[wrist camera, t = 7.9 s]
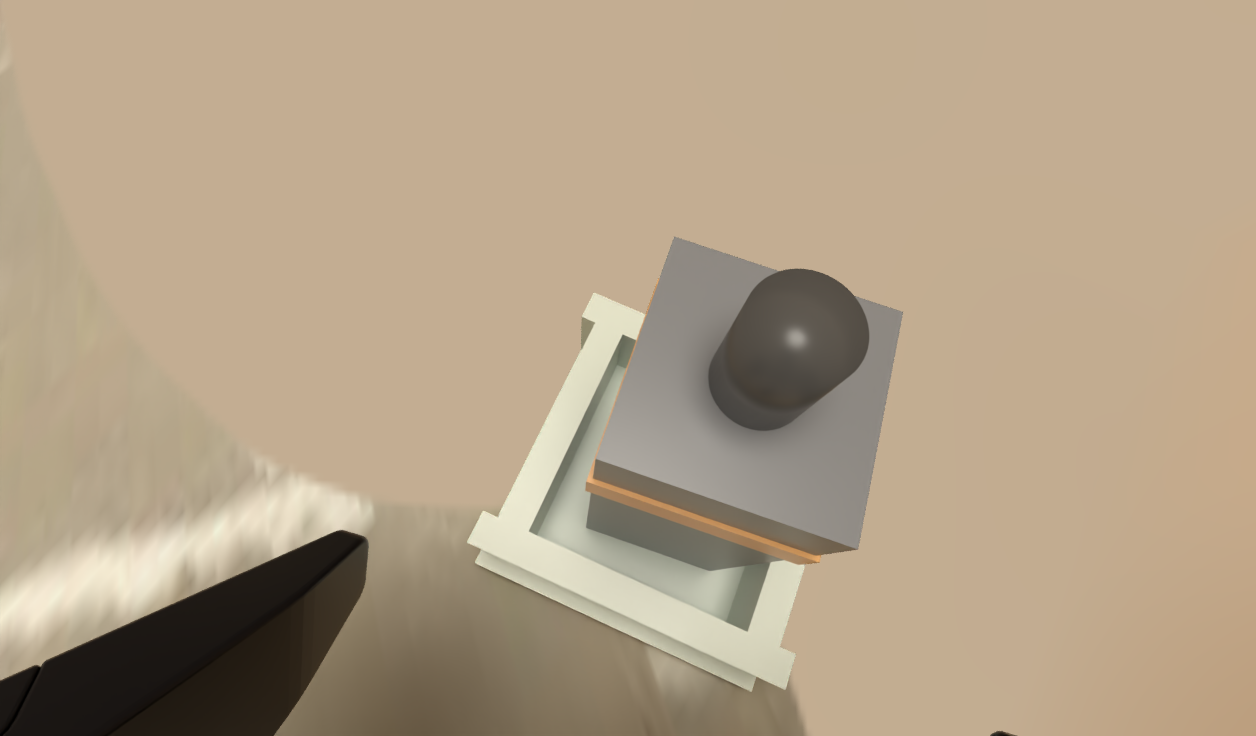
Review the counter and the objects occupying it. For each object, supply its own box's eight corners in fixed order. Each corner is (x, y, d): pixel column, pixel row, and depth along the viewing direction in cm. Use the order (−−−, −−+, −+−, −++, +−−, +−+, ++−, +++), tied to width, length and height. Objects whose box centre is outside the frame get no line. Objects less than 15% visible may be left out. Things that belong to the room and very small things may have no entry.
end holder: (745, 688, 21) (779, 708, 17) (478, 563, 22) (458, 558, 18) (829, 425, 24) (873, 397, 21) (596, 325, 25) (600, 280, 21)
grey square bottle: (711, 575, 21) (945, 548, 8) (582, 529, 21) (591, 425, 8) (745, 447, 23) (988, 241, 9) (625, 406, 23) (693, 145, 10)
